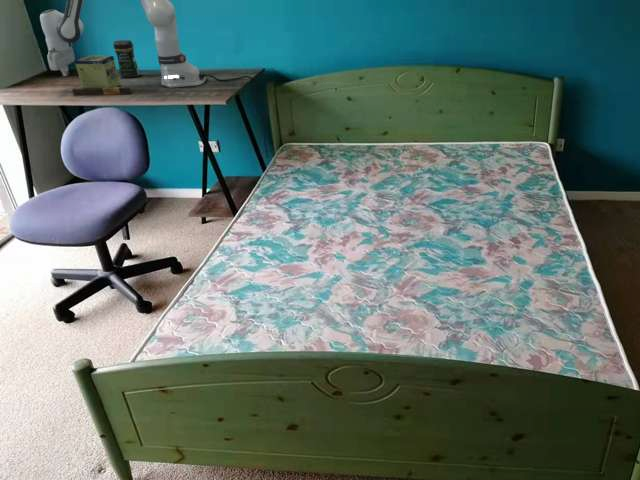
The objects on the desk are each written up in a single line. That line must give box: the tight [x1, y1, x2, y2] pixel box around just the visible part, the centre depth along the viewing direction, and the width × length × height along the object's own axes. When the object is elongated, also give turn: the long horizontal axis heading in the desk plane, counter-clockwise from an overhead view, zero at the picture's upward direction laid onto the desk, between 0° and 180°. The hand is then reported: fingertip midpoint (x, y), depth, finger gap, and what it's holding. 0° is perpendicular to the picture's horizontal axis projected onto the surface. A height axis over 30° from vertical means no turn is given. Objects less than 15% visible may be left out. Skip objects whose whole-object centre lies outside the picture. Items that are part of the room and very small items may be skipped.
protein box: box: [74, 55, 122, 88], centre depth 298 cm, size 10×16×16 cm
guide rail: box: [72, 86, 132, 96], centre depth 295 cm, size 28×2×3 cm, turn 89°
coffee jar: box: [113, 39, 141, 79], centre depth 318 cm, size 10×8×19 cm
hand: (66, 75), depth 298 cm, fingers closed
